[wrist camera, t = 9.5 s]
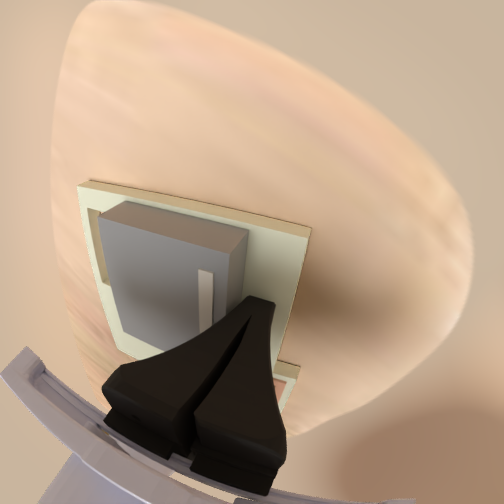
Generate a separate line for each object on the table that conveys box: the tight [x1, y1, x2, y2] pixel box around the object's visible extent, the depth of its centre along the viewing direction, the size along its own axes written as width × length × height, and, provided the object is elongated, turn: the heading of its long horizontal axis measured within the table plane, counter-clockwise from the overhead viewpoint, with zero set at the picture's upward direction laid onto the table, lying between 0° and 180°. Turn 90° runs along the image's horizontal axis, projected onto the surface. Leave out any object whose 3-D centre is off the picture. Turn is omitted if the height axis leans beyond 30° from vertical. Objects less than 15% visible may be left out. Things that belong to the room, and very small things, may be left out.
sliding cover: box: [97, 201, 249, 352], centre depth 13 cm, size 8×6×2 cm
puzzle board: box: [77, 181, 311, 414], centre depth 16 cm, size 14×14×1 cm
